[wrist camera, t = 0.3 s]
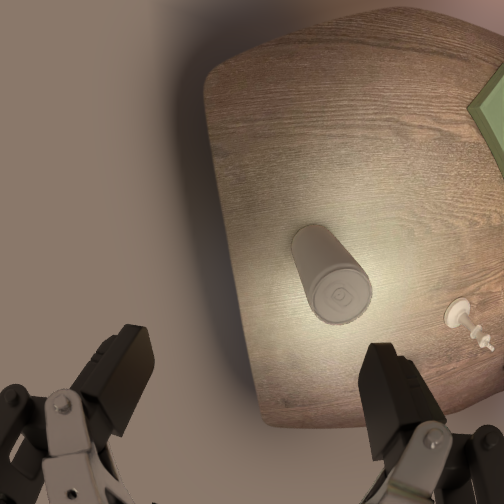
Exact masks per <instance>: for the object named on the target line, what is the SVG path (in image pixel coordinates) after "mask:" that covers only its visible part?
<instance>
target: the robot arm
mask: <svg viewBox="0 0 504 504" xmlns="http://www.w3.org/2000/svg"><path fill="white" fill-rule="evenodd" d="M154 363H155V359H154V355H153V350H152V346H151V342H150V338H149V334H148V330H147V328H146V327H143V326H137V325H131V324H126V325H124V327H123V328H122V329H121V331H120V332H119V334H118V335H112V336H111V337H109V338H108V339H107V340H105V341H104V342H103V343H102V344H101V345H100V347H99V348H98V349H97V351H96V353H95V354H94V355H93V356H92V358H91V361H89V362H88V363H87V365H86V366H85V367H84V369H83V370H82V372H81V373H80V375H79V376H78V377H77V379H76V380H75V382H74V383H73V385H72V386H71V387H70V389H61V390H57V391H55V392H53V393H52V394H51V395H50V396H49V397H48V398H46V397H36V396H30V394H29V393H28V391H27V390H26V388H25V387H24V386H22V385H20V384H12V385H9V386H7V387H6V388H4V389H3V390H2V392H1V393H0V504H35V503H36V501H37V498H38V496H39V493H40V491H41V488H42V486H43V484H44V481H45V485H46V490H47V495H48V500H49V504H135V503H134V501H133V499H132V498H131V496H130V494H129V492H128V491H127V489H126V488H125V486H124V484H123V482H122V479H121V476H120V474H119V471H118V468H117V465H116V462H115V459H114V456H113V453H112V450H111V447H110V444H109V442H108V439H109V437H110V435H111V434H113V435H116V436H119V437H122V436H123V433H124V431H125V429H126V427H127V425H128V423H129V420H130V418H131V416H132V414H133V412H134V409H135V408H136V405H137V403H138V401H139V399H140V397H141V395H142V393H143V391H144V389H145V387H146V385H147V382H148V380H149V378H150V376H151V374H152V372H153V369H154ZM420 385H421V384H420V382H419V380H418V378H417V375H416V373H415V370H414V368H413V366H412V364H411V363H410V362H409V361H408V360H407V359H406V358H405V357H404V356H397V354H396V351H395V349H394V347H393V345H392V343H390V342H388V343H371V344H370V345H369V347H368V350H367V353H366V356H365V359H364V361H363V364H362V367H361V370H360V373H359V378H358V387H359V392H360V397H361V402H362V406H363V411H364V416H365V421H366V426H367V431H368V436H369V442H370V447H371V453H372V459H373V461H378V460H384V464H385V467H384V468H383V469H382V471H381V472H380V474H379V475H378V477H377V479H376V480H375V482H374V483H373V485H372V486H371V488H370V489H369V491H368V492H367V494H366V495H365V497H364V498H363V499H362V501H361V502H360V504H434V500H432V499H431V497H432V493H433V491H434V494H435V501H436V504H476V501H475V495H476V500H477V504H504V436H503V434H502V433H501V431H500V430H499V429H498V428H497V427H495V426H492V425H483V426H481V427H479V428H478V429H477V430H476V432H475V433H474V434H473V435H470V434H454V433H451V432H450V430H449V429H448V427H446V426H445V425H444V424H443V423H440V422H438V421H435V420H434V417H433V415H432V412H431V409H430V407H429V404H428V402H427V399H426V397H425V394H424V392H423V389H422V387H420ZM20 434H22V435H23V436H24V437H25V438H24V440H23V442H22V443H21V445H20V447H19V449H18V451H17V453H16V455H15V457H14V459H13V461H12V462H11V463H10V459H9V455H10V452H11V450H12V448H13V446H14V445H15V443H16V440H17V439H18V437H19V435H20ZM471 479H472V482H473V486H474V491H475V495H474V491H473V486H472V482H471ZM152 504H156V503H152Z"/></svg>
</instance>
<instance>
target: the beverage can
mask: <svg viewBox="0 0 504 504" xmlns="http://www.w3.org/2000/svg"><path fill="white" fill-rule="evenodd" d="M291 250H292V255H293V258H294V261H295V264H296V267H297V270H298V273H299V276H300V279H301V282H302V285H303V288H304V291H305V294H306V297H307V300H308V303H309V305H310V307H311V309H312V311H313V312H314V313H315V315H316V316H317V317H318V318H319V319H320V320H321V321H323V322H325V323H327V324H331V325H344V324H348V323H350V322H352V321H354V320H356V319H357V318H359V317H360V316H361V315H362V314H363V313H364V312H365V311H366V310H367V308H368V306H369V304H370V302H371V298H372V286H371V283H370V281H369V278H368V275H367V274H366V273H365V271H364V270H363V269H362V267H361V266H360V265H359V264H358V263H357V261H356V260H355V259H354V258H353V257H352V256H351V254H350V253H349V252H348V251H347V250H346V249H345V248H344V246H343V245H342V244H341V243H340V242H339V241H338V240H337V239H336V237H335V236H334V235H333V234H332V233H331V232H330V231H329V230H328V229H327V228H325V227H323V226H320V225H310V226H306V227H304V228H302V229H301V230H300V231H299V232H297V234H296V235H295V237H294V239H293V241H292V246H291Z"/></svg>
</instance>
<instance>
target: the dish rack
mask: <svg viewBox="0 0 504 504" xmlns="http://www.w3.org/2000/svg"><path fill="white" fill-rule="evenodd" d="M467 109H468V111H469V113H470V114H471V116H472V118H473V119H474V121H475V123H476V124H477V126H478V128H479V130H480V131H481V133H482V135H483V137H484V139H485V140H486V142H487V144H488V146H489V148H490V150H491V152H492V154H493V156H494V158H495V160H496V162H497V164H498V167H499V169H500V171H501V173H502V175H503V178H504V63H502V65H501V66H500V67H499V69H498V70H497V71H496V73H495V74H494V75H493V77H492V78H491V79H490V80H489V82H488V83H487V84H486V85H485V87H484V88H483V89H482V90H481V92H480V93H479V94H478V95H477V97H476V98H475V99H474V100H473V101H472V103H471V104H470V105H469V106H468V108H467Z"/></svg>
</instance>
